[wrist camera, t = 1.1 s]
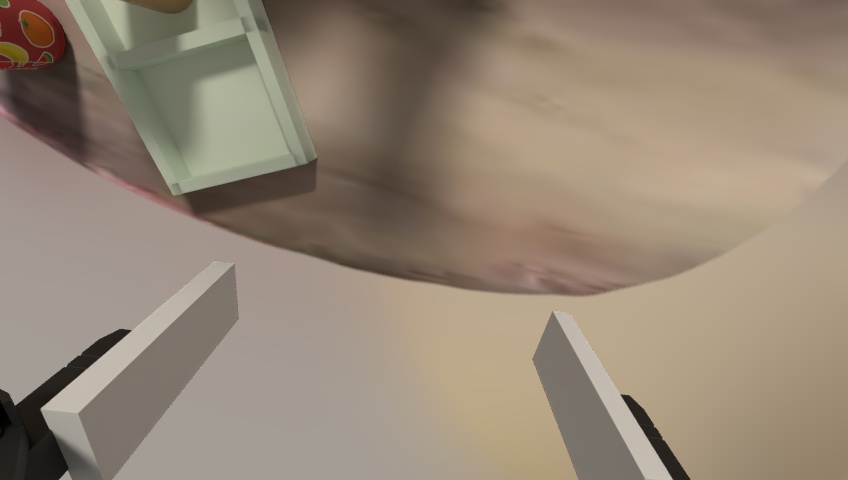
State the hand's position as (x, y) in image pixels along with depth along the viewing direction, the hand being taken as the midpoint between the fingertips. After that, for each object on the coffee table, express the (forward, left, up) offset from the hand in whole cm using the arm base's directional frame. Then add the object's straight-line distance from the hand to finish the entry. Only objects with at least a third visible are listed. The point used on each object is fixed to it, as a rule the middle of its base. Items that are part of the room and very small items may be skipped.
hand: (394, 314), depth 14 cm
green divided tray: (-17, -18, -27) cm, 36 cm away
